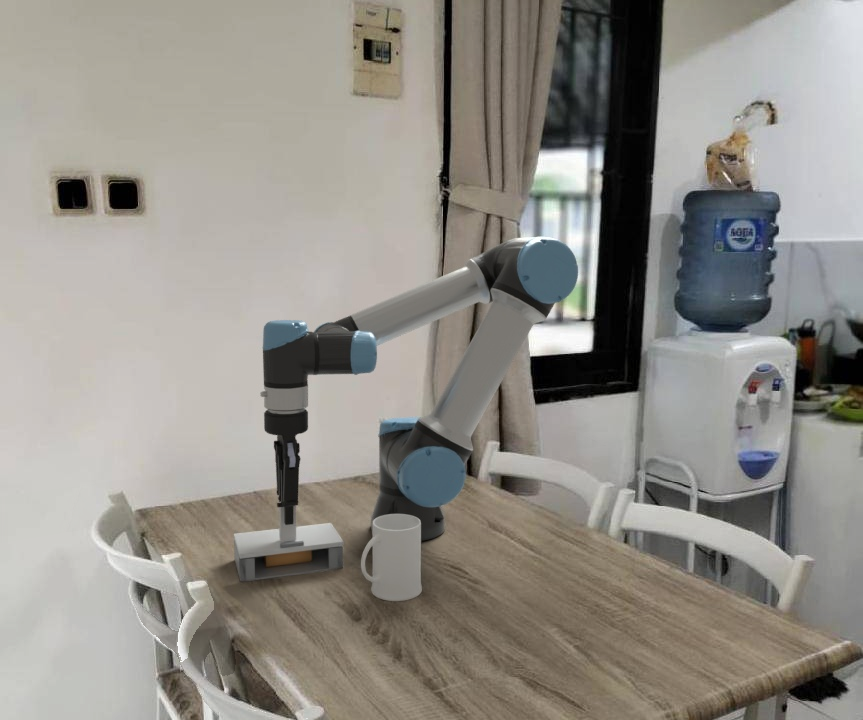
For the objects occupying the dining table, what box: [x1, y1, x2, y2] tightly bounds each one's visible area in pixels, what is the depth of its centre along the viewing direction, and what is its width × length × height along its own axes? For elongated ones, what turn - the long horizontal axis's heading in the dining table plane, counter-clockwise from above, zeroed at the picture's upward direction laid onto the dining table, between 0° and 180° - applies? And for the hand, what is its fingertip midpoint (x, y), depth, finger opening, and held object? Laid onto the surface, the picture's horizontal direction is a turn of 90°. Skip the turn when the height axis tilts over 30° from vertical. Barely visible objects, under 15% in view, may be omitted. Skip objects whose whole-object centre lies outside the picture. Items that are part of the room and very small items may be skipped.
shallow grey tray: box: [233, 539, 344, 583], centre depth 139 cm, size 18×10×4 cm, turn 109°
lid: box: [233, 522, 344, 559], centre depth 138 cm, size 18×10×1 cm, turn 109°
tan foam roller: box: [264, 550, 312, 567], centre depth 138 cm, size 8×4×4 cm
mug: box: [360, 514, 423, 602], centre depth 127 cm, size 12×8×12 cm
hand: (287, 539), depth 137 cm, fingers closed
